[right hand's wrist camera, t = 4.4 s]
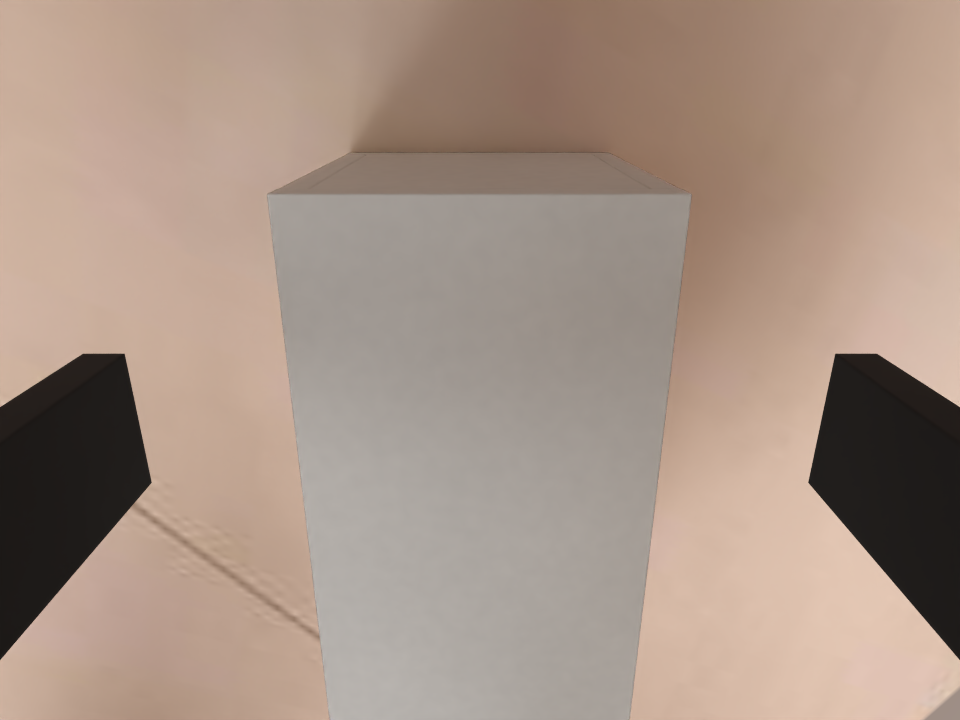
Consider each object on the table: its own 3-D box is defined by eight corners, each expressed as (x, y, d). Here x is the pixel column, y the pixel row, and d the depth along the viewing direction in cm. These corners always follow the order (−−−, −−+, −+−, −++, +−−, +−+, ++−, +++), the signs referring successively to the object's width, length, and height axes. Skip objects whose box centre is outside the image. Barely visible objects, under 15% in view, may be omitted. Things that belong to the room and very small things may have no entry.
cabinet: (579, 582, 34) (621, 789, 24) (379, 582, 34) (337, 789, 24) (610, 152, 26) (692, 193, 16) (348, 152, 26) (266, 193, 16)
